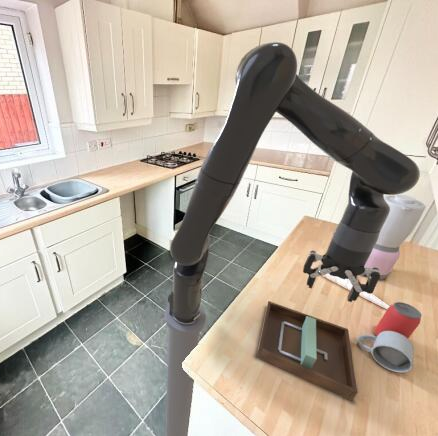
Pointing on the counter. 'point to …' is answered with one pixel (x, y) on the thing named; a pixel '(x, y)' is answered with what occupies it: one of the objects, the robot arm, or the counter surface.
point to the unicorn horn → (370, 297)
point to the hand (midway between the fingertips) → (329, 292)
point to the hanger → (304, 343)
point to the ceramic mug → (390, 350)
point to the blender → (394, 232)
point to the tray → (325, 341)
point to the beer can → (399, 319)
